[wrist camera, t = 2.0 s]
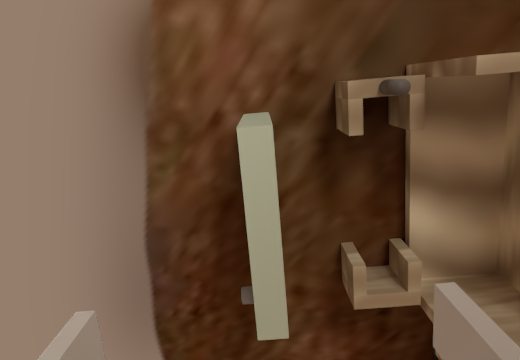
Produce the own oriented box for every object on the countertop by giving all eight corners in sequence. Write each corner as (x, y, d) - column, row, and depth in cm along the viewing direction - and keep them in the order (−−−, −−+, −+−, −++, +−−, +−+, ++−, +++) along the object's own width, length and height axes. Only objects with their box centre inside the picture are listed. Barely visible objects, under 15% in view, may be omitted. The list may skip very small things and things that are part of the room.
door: (231, 115, 31) (218, 129, 21) (268, 112, 31) (272, 124, 21) (247, 268, 34) (242, 341, 24) (280, 265, 34) (288, 338, 24)
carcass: (334, 71, 30) (370, 65, 20) (516, 55, 30) (641, 41, 20) (342, 288, 35) (374, 369, 25) (500, 276, 34) (595, 353, 25)
